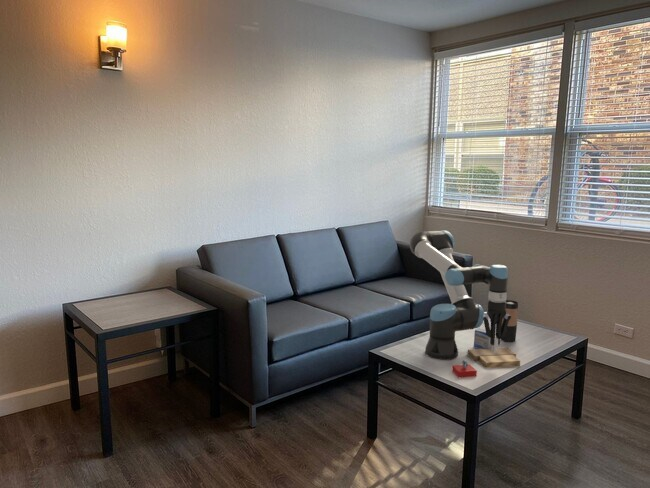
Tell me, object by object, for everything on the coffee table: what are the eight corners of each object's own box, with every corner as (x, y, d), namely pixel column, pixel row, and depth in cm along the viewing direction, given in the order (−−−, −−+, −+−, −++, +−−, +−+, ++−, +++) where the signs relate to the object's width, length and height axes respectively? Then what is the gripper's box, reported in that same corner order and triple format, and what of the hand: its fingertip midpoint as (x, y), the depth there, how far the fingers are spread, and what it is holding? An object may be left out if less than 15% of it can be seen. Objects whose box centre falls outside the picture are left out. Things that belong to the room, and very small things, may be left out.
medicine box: (473, 346, 252) (474, 330, 250) (477, 344, 255) (478, 327, 253) (488, 350, 246) (489, 333, 245) (492, 348, 249) (493, 331, 248)
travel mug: (518, 342, 257) (520, 304, 253) (502, 342, 257) (505, 304, 253) (512, 337, 264) (515, 300, 261) (498, 337, 264) (500, 300, 261)
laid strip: (474, 361, 234) (474, 356, 234) (467, 354, 242) (467, 349, 241) (515, 358, 236) (516, 353, 236) (507, 352, 244) (507, 347, 244)
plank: (485, 367, 227) (486, 362, 226) (479, 361, 234) (479, 356, 233) (519, 365, 229) (520, 360, 228) (512, 359, 236) (512, 354, 235)
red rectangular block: (469, 370, 225) (470, 356, 224) (476, 376, 218) (477, 362, 217) (452, 371, 223) (452, 357, 222) (458, 378, 217) (459, 364, 216)
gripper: (486, 303, 219) (484, 355, 223) (515, 302, 220) (512, 354, 224) (479, 298, 226) (477, 349, 230) (507, 297, 228) (504, 347, 232)
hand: (494, 351), depth 227 cm, fingers closed
